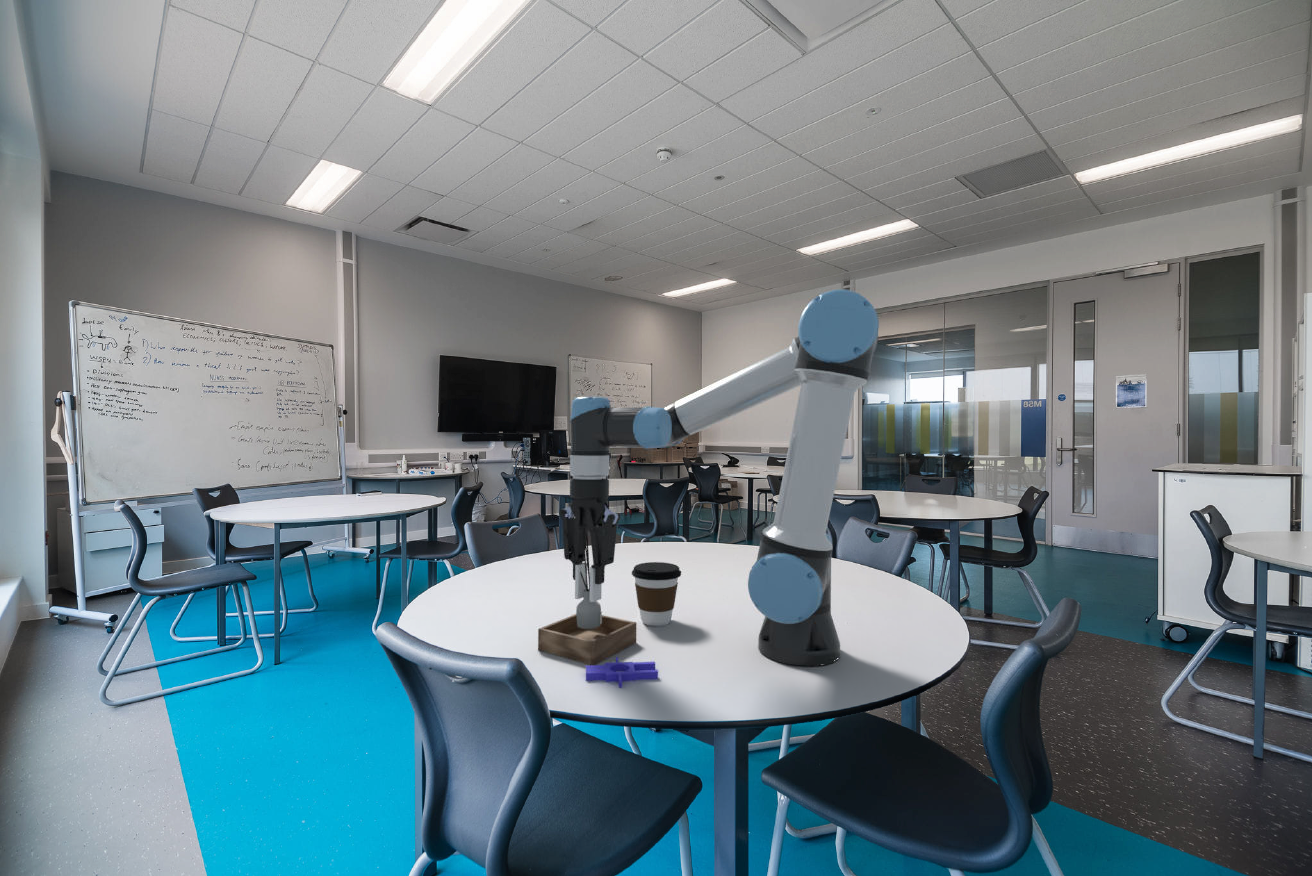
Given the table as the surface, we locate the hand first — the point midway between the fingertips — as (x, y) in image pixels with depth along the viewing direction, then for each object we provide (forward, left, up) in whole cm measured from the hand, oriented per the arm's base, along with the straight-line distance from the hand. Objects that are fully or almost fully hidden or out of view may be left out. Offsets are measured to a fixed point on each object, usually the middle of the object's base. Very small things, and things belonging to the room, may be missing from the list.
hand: (588, 598), depth 111 cm
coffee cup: (-3, -20, -9) cm, 22 cm away
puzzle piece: (-13, +7, -10) cm, 18 cm away
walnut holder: (0, 0, -9) cm, 9 cm away
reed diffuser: (+1, 0, -6) cm, 6 cm away
